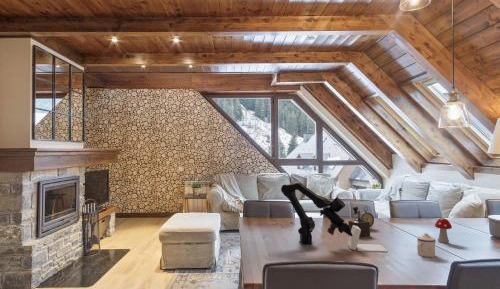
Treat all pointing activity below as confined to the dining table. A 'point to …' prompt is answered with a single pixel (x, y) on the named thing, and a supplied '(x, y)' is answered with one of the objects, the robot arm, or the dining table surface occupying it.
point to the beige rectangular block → (354, 237)
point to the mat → (370, 248)
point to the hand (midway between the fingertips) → (351, 235)
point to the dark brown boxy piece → (360, 224)
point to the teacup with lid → (426, 245)
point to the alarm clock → (367, 217)
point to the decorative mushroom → (443, 230)
